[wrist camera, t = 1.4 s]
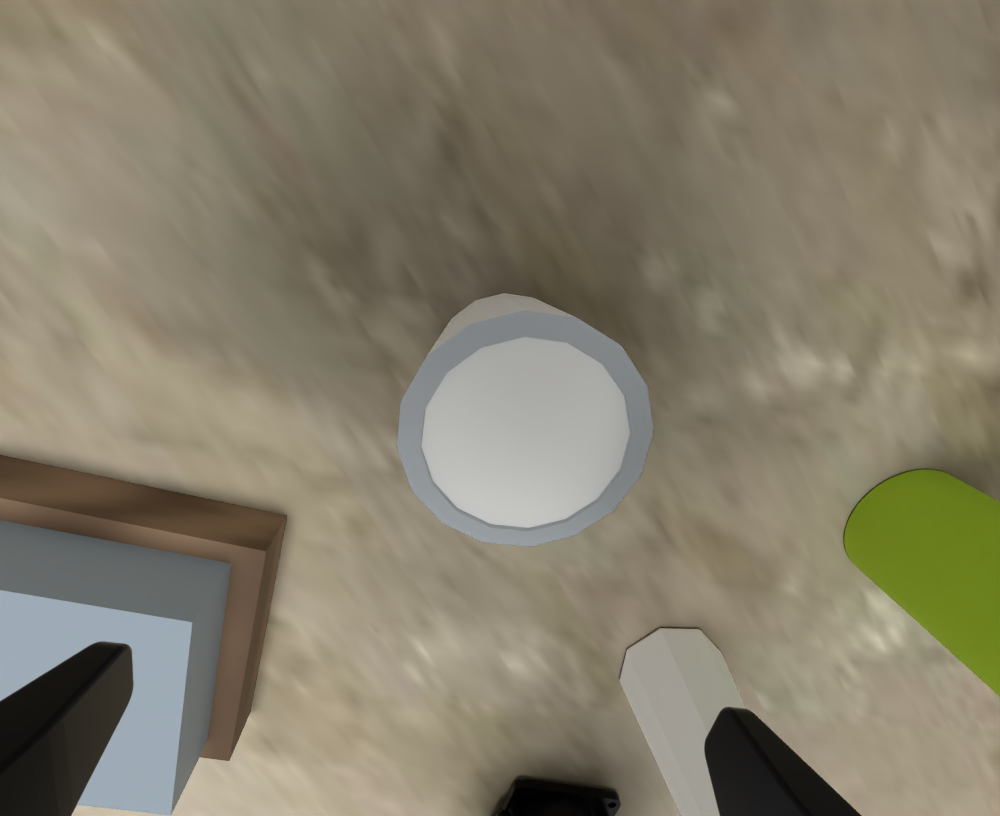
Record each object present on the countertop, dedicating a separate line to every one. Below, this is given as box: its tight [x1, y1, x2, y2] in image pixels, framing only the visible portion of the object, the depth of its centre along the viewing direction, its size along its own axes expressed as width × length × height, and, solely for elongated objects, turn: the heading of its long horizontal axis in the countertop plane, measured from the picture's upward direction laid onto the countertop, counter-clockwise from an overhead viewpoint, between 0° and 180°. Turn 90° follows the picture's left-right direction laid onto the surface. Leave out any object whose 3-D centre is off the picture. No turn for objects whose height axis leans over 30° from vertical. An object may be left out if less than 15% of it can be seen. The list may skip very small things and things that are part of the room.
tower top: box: [0, 520, 231, 815], centre depth 19 cm, size 10×10×3 cm
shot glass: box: [397, 293, 654, 547], centre depth 17 cm, size 7×7×7 cm
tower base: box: [0, 455, 287, 761], centre depth 22 cm, size 12×12×3 cm
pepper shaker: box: [619, 628, 746, 816], centre depth 21 cm, size 5×5×11 cm
